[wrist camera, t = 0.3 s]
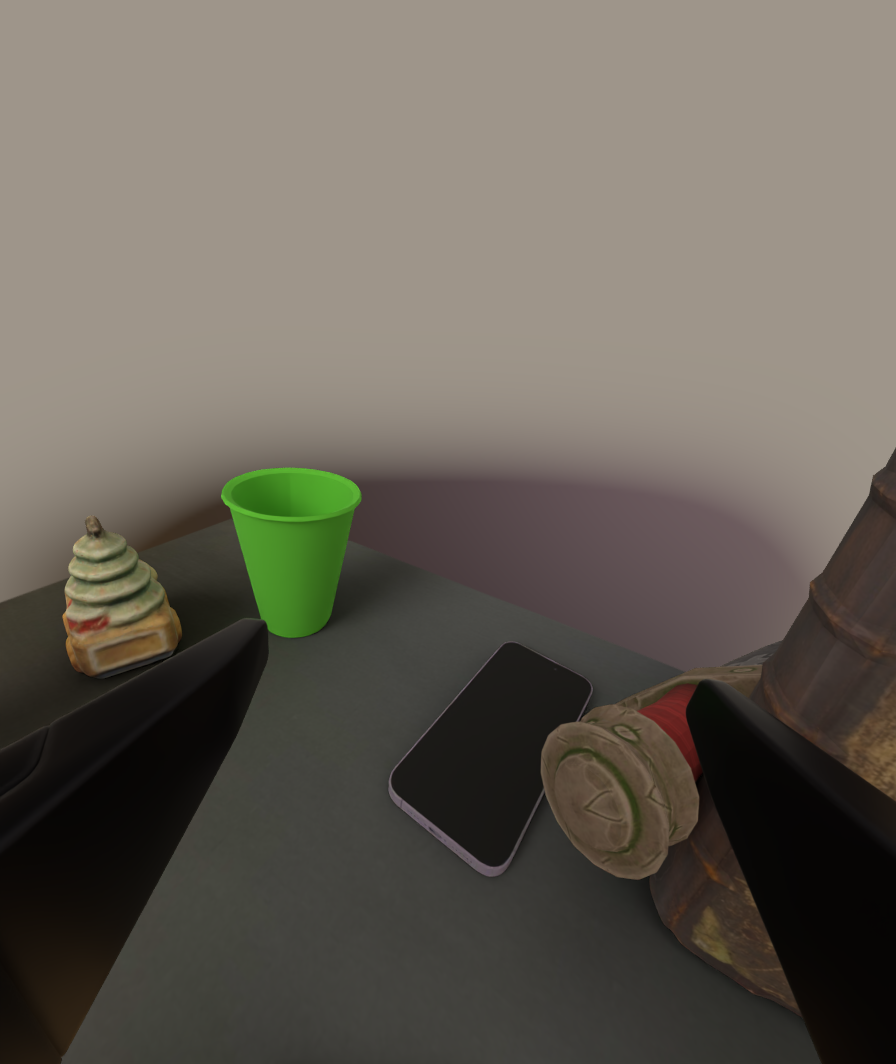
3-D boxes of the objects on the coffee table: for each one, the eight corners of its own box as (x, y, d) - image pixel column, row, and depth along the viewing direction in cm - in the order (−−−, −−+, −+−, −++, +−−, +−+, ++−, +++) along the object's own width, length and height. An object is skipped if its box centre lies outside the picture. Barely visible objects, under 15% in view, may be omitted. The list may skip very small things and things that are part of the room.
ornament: (58, 627, 30) (15, 494, 26) (159, 598, 34) (137, 479, 30) (82, 698, 25) (34, 551, 21) (196, 654, 30) (176, 524, 25)
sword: (573, 918, 14) (1854, 616, 10) (516, 745, 16) (1583, 425, 11) (564, 741, 42) (895, 643, 38) (544, 686, 44) (859, 587, 39)
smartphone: (379, 782, 23) (507, 636, 34) (378, 795, 23) (504, 647, 35) (501, 881, 19) (597, 683, 31) (496, 894, 20) (593, 694, 31)
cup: (233, 668, 29) (218, 521, 24) (234, 591, 36) (223, 467, 31) (366, 645, 33) (375, 514, 28) (342, 580, 40) (347, 467, 35)
